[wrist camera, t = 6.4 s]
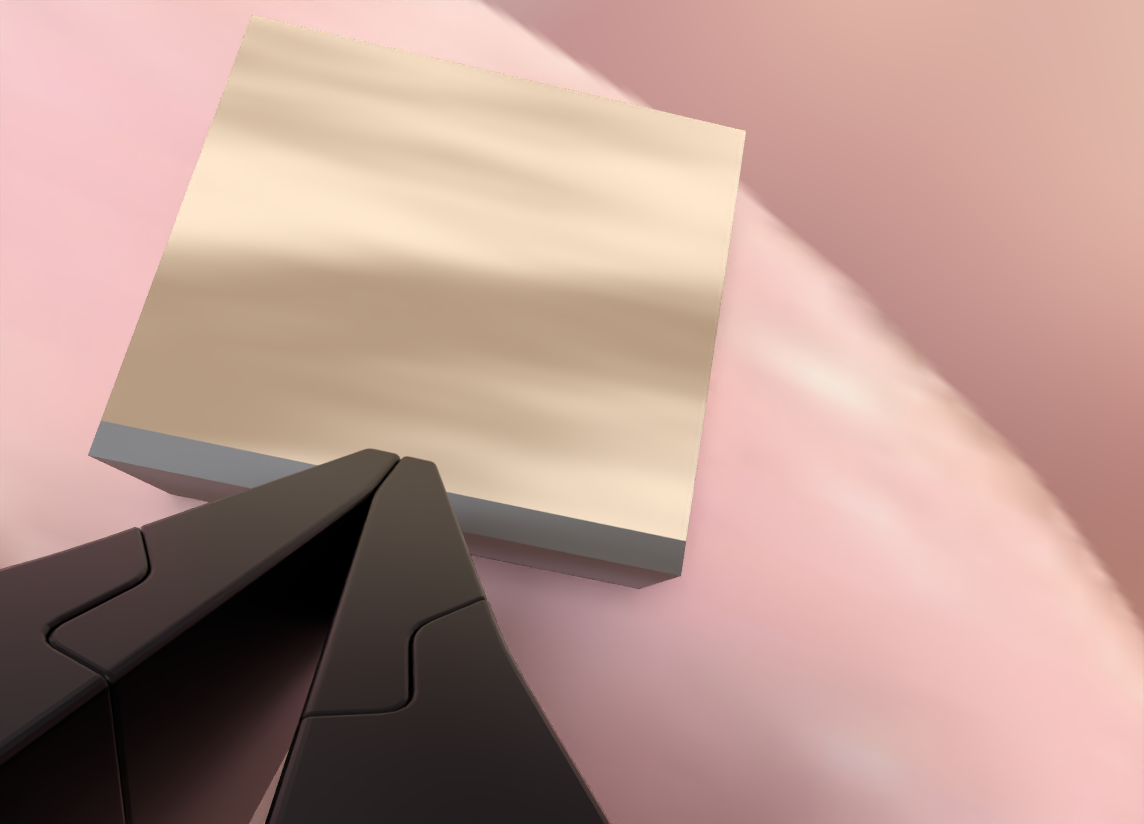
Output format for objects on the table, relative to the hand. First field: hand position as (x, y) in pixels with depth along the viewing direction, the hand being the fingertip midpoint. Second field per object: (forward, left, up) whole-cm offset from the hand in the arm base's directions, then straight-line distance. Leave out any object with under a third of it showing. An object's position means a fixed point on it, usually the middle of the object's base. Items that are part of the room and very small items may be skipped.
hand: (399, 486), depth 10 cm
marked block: (0, +1, -6) cm, 6 cm away
